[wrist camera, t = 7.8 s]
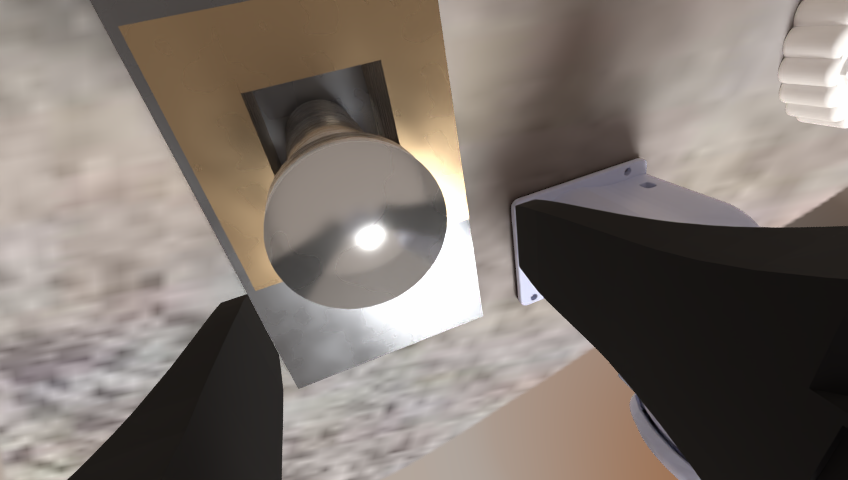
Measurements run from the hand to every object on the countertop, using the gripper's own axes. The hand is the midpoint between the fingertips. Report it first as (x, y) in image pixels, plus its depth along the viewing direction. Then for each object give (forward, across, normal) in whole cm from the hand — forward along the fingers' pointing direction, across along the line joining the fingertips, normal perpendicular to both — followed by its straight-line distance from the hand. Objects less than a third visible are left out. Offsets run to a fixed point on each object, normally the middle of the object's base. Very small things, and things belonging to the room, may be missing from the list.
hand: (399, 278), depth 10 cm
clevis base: (+10, 0, +2) cm, 10 cm away
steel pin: (+9, 0, -2) cm, 10 cm away
